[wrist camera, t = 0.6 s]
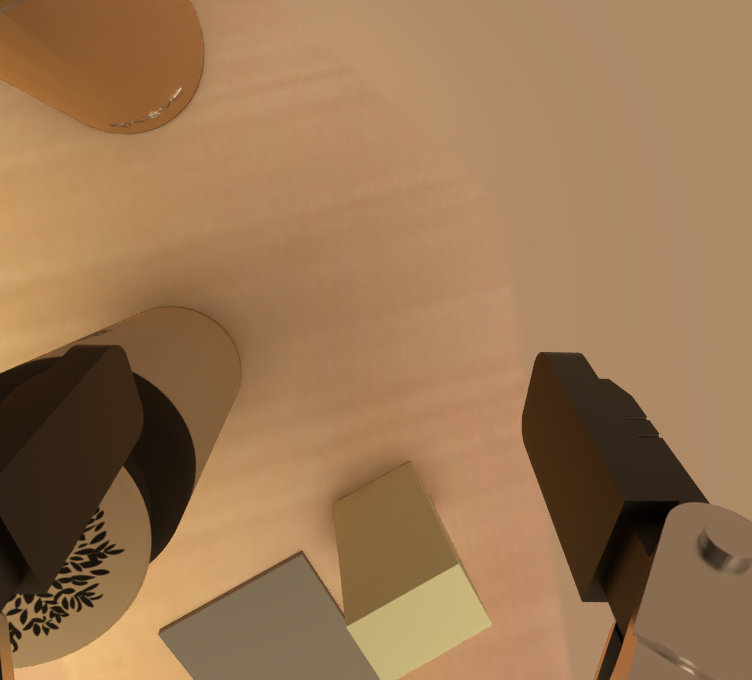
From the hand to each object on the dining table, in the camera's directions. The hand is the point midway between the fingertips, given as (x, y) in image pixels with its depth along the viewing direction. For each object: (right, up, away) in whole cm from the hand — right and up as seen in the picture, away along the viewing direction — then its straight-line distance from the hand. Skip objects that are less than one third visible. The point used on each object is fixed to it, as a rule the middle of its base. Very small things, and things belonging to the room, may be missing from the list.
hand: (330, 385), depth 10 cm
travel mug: (-11, -1, +20) cm, 23 cm away
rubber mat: (-5, -23, +26) cm, 35 cm away
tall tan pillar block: (+2, -11, +24) cm, 26 cm away
